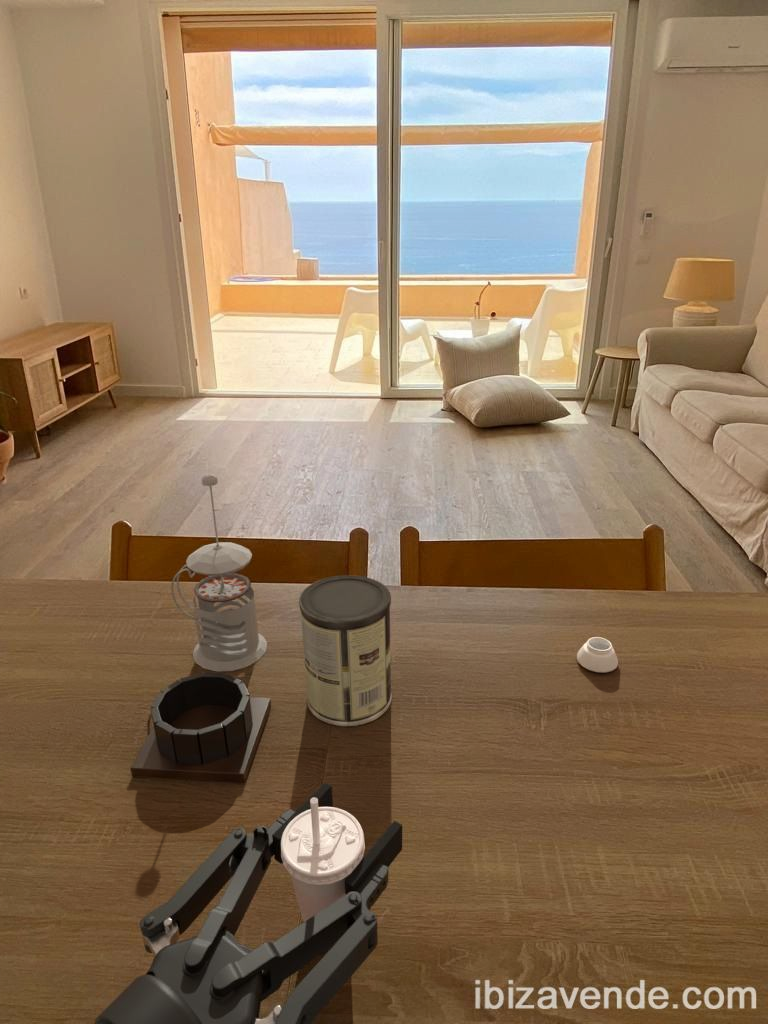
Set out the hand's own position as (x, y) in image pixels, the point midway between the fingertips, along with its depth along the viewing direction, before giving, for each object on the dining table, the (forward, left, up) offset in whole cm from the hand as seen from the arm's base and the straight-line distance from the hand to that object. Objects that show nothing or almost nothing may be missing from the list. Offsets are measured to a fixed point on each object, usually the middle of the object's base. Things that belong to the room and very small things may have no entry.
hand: (362, 815), depth 57 cm
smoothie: (-3, -4, -8) cm, 9 cm away
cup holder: (-20, +17, -8) cm, 27 cm away
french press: (-23, +34, -8) cm, 41 cm away
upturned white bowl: (+26, +34, -8) cm, 44 cm away
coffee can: (-5, +25, -8) cm, 26 cm away
